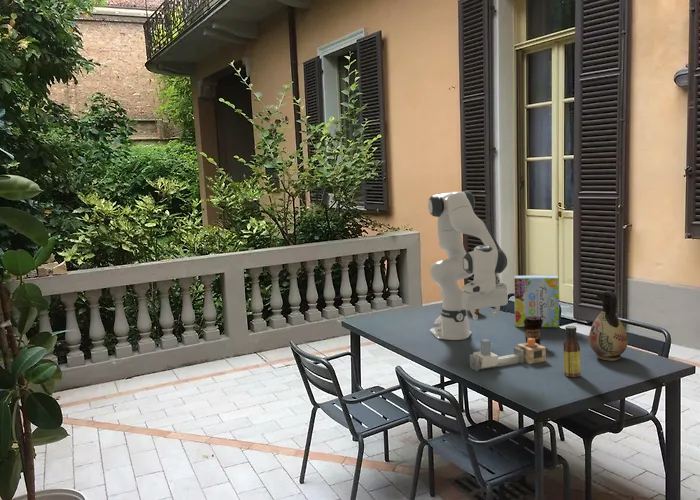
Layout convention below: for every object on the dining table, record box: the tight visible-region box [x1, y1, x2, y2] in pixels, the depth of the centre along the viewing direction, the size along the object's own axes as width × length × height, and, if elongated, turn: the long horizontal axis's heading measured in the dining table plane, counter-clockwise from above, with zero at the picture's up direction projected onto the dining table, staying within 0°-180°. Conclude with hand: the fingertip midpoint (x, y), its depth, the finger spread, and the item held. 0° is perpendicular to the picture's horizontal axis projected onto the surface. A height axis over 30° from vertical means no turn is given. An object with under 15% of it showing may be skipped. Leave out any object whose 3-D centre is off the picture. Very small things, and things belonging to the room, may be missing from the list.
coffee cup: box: [524, 316, 543, 345], centre depth 281 cm, size 9×8×13 cm
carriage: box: [472, 338, 499, 368], centre depth 254 cm, size 8×7×10 cm
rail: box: [469, 346, 525, 372], centre depth 257 cm, size 5×23×6 cm, turn 109°
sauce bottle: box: [562, 325, 582, 378], centre depth 240 cm, size 7×6×20 cm
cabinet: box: [516, 342, 547, 365], centre depth 262 cm, size 9×8×6 cm
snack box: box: [513, 274, 560, 328], centre depth 311 cm, size 22×9×26 cm, turn 76°
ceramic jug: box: [588, 290, 629, 361], centre depth 258 cm, size 17×15×30 cm
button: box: [527, 338, 535, 348], centre depth 262 cm, size 3×3×5 cm
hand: (485, 318), depth 252 cm, fingers open, 8 cm apart
